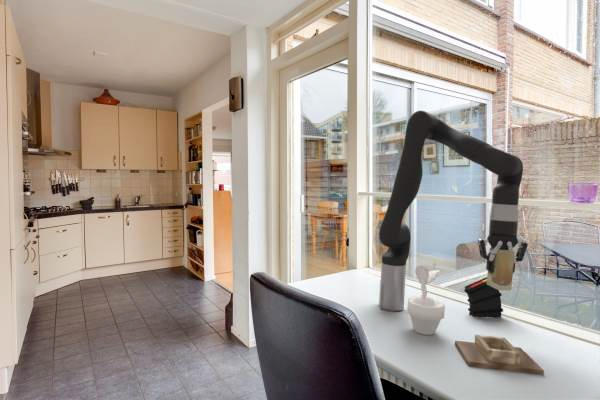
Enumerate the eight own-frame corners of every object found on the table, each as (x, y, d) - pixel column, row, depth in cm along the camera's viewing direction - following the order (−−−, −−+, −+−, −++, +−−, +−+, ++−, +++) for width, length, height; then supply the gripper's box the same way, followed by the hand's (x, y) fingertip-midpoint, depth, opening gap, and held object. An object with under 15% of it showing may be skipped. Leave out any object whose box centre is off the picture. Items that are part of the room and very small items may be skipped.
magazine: (510, 314, 128) (496, 277, 128) (478, 328, 128) (463, 291, 127) (504, 310, 132) (490, 275, 131) (473, 324, 132) (458, 288, 131)
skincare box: (486, 284, 111) (488, 246, 111) (498, 285, 112) (501, 247, 111) (499, 290, 105) (501, 250, 104) (512, 291, 105) (515, 251, 105)
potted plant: (425, 341, 105) (430, 260, 104) (398, 327, 116) (402, 252, 115) (454, 335, 111) (458, 257, 110) (425, 322, 121) (429, 251, 121)
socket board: (468, 365, 91) (469, 350, 91) (454, 344, 104) (455, 330, 104) (543, 375, 88) (544, 358, 88) (520, 351, 101) (521, 337, 101)
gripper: (483, 218, 105) (479, 274, 106) (535, 221, 103) (531, 278, 103) (475, 216, 112) (471, 268, 113) (523, 219, 110) (519, 272, 111)
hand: (500, 273), depth 108 cm, fingers closed on skincare box, 5 cm apart
